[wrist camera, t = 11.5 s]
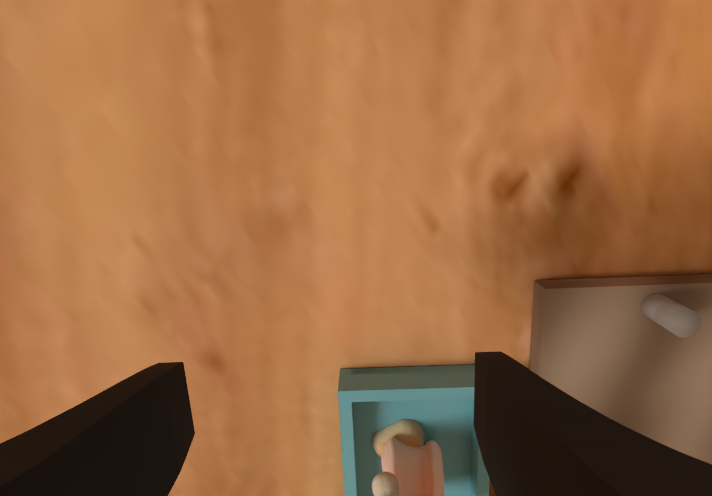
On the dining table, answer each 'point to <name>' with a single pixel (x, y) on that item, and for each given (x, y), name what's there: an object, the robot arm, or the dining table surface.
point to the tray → (415, 402)
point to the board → (632, 352)
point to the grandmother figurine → (407, 462)
